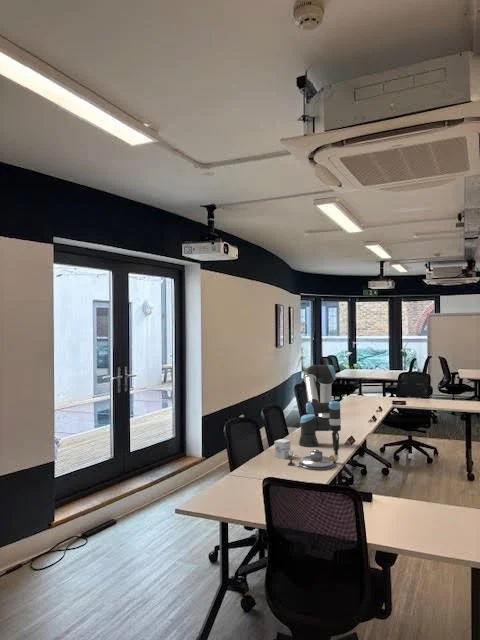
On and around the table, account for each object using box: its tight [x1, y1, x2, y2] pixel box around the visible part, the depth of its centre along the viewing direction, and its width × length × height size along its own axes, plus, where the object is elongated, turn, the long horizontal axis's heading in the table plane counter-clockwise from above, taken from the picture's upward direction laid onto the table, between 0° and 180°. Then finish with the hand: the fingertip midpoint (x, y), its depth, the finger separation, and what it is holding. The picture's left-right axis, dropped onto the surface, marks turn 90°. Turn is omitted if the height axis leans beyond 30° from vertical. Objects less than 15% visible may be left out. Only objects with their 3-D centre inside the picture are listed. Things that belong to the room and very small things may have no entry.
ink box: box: [274, 438, 292, 460], centre depth 341 cm, size 8×8×12 cm
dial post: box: [287, 450, 298, 467], centre depth 320 cm, size 4×6×10 cm, turn 75°
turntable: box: [299, 454, 338, 468], centre depth 319 cm, size 22×26×3 cm
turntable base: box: [298, 461, 336, 471], centre depth 319 cm, size 24×24×1 cm
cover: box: [309, 449, 324, 462], centre depth 319 cm, size 8×8×6 cm
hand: (336, 459), depth 321 cm, fingers closed
